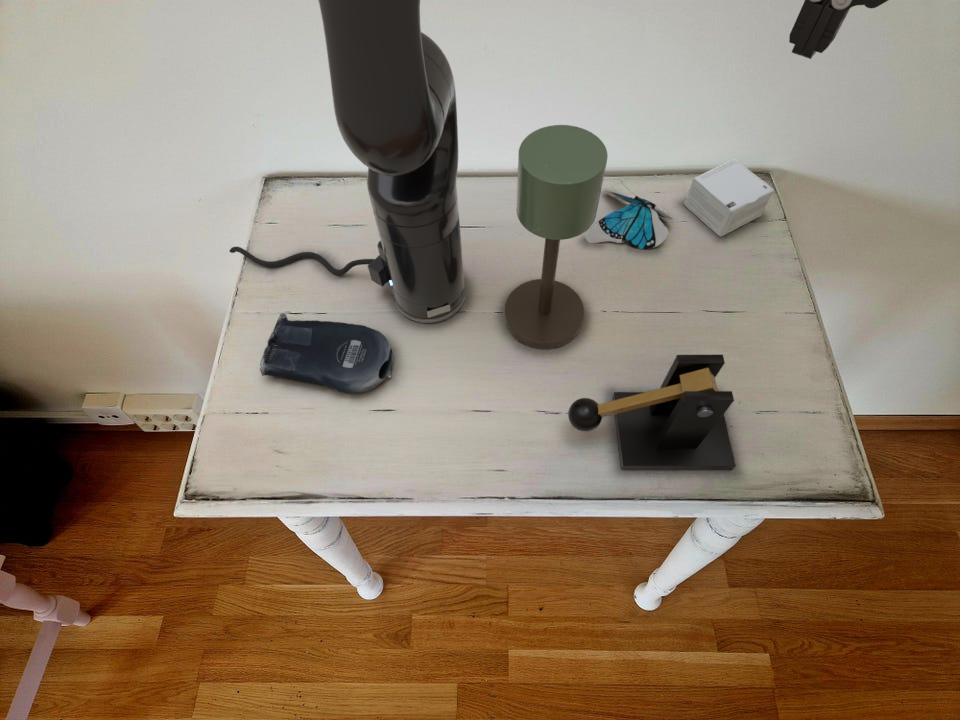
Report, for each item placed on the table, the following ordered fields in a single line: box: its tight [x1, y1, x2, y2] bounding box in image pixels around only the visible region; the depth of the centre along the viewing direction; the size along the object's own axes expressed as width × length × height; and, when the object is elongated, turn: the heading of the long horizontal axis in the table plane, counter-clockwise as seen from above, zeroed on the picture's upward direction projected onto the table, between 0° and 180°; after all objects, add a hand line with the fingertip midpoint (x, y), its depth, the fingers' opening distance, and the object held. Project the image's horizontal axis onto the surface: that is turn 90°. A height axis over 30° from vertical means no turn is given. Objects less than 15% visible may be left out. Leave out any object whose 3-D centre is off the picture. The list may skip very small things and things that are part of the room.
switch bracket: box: [612, 354, 737, 471], centre depth 59 cm, size 12×9×13 cm
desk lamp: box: [504, 124, 609, 351], centre depth 62 cm, size 10×10×26 cm
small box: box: [683, 157, 775, 238], centre depth 80 cm, size 8×8×5 cm
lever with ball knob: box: [567, 368, 719, 433], centre depth 58 cm, size 15×4×4 cm
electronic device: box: [259, 312, 394, 395], centre depth 69 cm, size 9×6×15 cm
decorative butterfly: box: [584, 180, 674, 250], centre depth 79 cm, size 10×6×10 cm
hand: (805, 51), depth 43 cm, fingers closed
